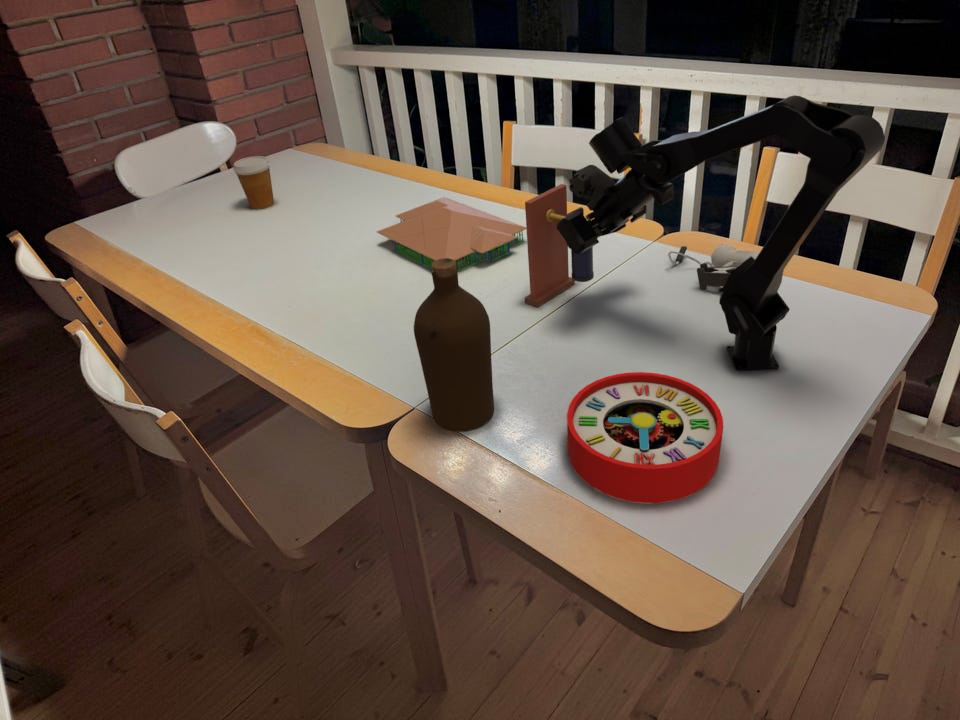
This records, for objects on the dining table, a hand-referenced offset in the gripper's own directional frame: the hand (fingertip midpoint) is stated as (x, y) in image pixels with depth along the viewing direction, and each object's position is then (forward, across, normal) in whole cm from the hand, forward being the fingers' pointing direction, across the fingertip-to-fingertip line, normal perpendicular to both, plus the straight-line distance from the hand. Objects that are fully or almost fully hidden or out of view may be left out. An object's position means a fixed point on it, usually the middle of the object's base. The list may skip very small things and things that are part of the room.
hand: (576, 242), depth 124 cm
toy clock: (-15, +28, +32) cm, 45 cm away
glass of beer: (+80, +8, -64) cm, 102 cm away
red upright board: (+11, +1, +6) cm, 12 cm away
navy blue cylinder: (+4, 0, +6) cm, 7 cm away
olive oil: (+3, +38, +14) cm, 40 cm away
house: (+36, -4, -20) cm, 41 cm away
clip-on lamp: (-2, -22, +19) cm, 29 cm away
